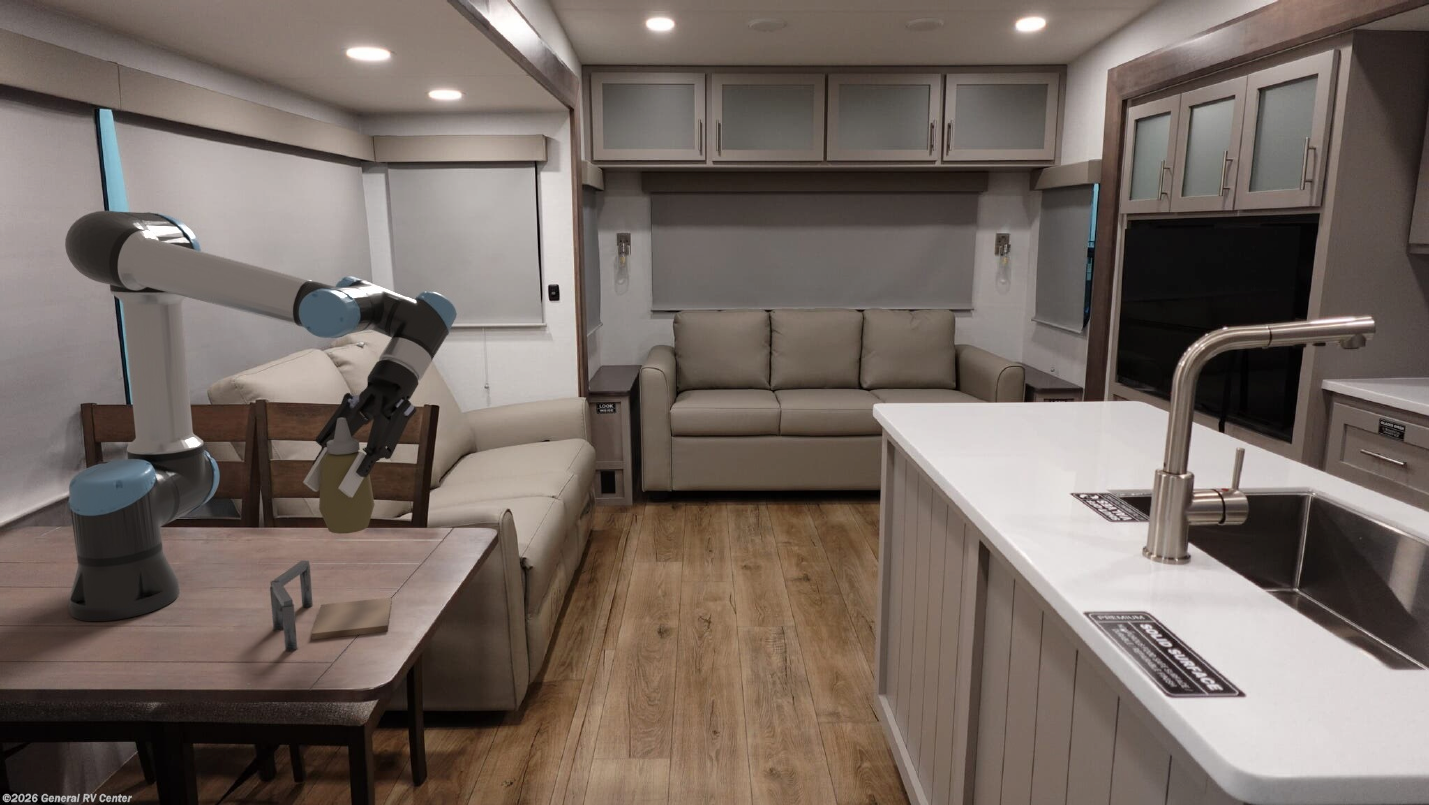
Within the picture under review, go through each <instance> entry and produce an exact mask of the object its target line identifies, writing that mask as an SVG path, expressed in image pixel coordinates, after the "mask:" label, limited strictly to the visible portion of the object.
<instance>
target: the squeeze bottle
mask: <svg viewBox="0 0 1429 805" xmlns="http://www.w3.org/2000/svg"><path fill="white" fill-rule="evenodd" d="M327 452H328V453H329V454H326V455H325V456H324V457H323V458H322V459H321V478H320V488H319V505H318V507H319V508H318V510H319V512H320V514H321V516H322V518H323V521H324V522H325V526H326V527H327V529H328V532H331V533H332V534H339V535H340V534H341V535H342V534H352V533H353V534H354V533H358V532H361V531H363V530H366V529H367V528H368V527H369V524H370V521H371V518H372V515H373V511H374V507H375V500H374V492H373V487H372V481H371V477H370V476H371V475H370V474H369V475H368V476H367V477H364V479H363V480H362V482H361V484H360V485H359V487H358V489H357V491H356V492H355V494H354V496H353V497H348V496H347V495H346V494H344V493H343V492H342V491H341V490H340V489H338V488H339V486H340V484H341V483H342V481H343V479H344V478H345V476H346V474H347V472H348V471H349V469H350V467H351V466H352V464H353V462H354V461H355V459H356V457H357V456H358V454H359V452H360V440H359V439H358V438H354V437H351V434H350V431H349V428H348V424H347V421H346V418H338V419H337V424H336V430H335V436H334V440H330V441H328V442H327Z"/></svg>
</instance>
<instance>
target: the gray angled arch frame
mask: <svg viewBox="0 0 1429 805" xmlns="http://www.w3.org/2000/svg"><path fill="white" fill-rule="evenodd" d="M309 561H310V560H300V561H299V562H298V563H296V564H294V566H292V567H290V568H289V569H287V570H286V571H284V572H283V573H282V574H280V575H278V577H276V578H274V579H273V580H272V581H270V586H269V592H270V605H271V606H270V607H271V615H272V628H273V629H272V630H273V631H282V630H283V635H284V636H283V637H284V647H285V648H284V650H285V652H287V653H288V652H295V651H296V650H297V649H298V643H297V642H298V641H297V638H298V637H297V628H296V616H295V615H296V613H295V605H294V602H293V598H292V597H291V595H290V594H289V593H288V591H287V589H286V588H285V587H284V586H286V585H287V584H288V583H290V582H292V581H293V580H294V579H295V578H297V577H298V576H299V583H300V598H301V607H302V608H304V609H305V608H311V607H312V606H314V605H313V592H312V590H313V589H312V578H311V577H312V576H311V566H310V562H309Z"/></svg>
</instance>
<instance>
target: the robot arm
mask: <svg viewBox="0 0 1429 805" xmlns="http://www.w3.org/2000/svg"><path fill="white" fill-rule="evenodd" d="M64 240H65V244H64V245H65V246H64V247H65V252H66V255H67V258H68V260H69V261H70V263H71V264H72V265H73V267H74V268H75V269H76V270H77V271H78V272H79V273H80V274H81V275H83V276H84V277H86V278H88V279H90V280H92V281H94V282H98V283H101V284H106V285H109V288H110V289H109V290H110V294H112V295H113V296H114V297H115V298H116V299H118V300H119V301H121V303H122V311H123V321H124V330H125V340H126V350H127V352H126V353H127V360H128V362H127V363H128V372H129V380H130V393H131V402H132V411H133V422H134V432H135V439H133V441H131V443H130V444H129V445H127V447H126V453H127V456H126V457H127V458H124V459H117V460H116V459H114V460H110V461H108V462H105V463H98V464H95V465H92V466H89V467H87V468H85V469H82V470H81V471H79V472H78V473H76V474H75V475H74V476H73V477H72V478H71V480H70V482H69V484H68V485H69V486H68V489H69V492H68V494H69V497H68V507H69V509H70V515H71V523H72V529H73V538H74V543H75V544H74V546H75V551H76V552H75V553H76V560H77V570H76V573H75V576H74V580H73V584H72V588H71V592H70V594H69V599H68V605H69V606H68V607H69V612H70V616H71V617H72V618H74V619H77V620H79V621H84V622H107V621H110V622H111V621H119V620H122V619H123V620H124V619H130V618H134V617H139V616H141V615H145V614H149V613H151V612H154V611H156V610H159V609H162V608H164V607H166V606H168V605H170V604H171V603H172V602H175V600H176V599H178V597H179V595H180V584H179V580H178V578H177V576H176V574H175V572H174V570H173V568H172V566H171V565H170V563H169V561H168V559H167V556H166V555H165V552H164V549H163V542H162V541H163V540H162V531H161V527H163V526H165V525H168V524H169V523H171V522H173V521H175V520H177V519H179V518H181V517H183V516H185V515H187V514H191V513H193V512H195V511H197V510H198V509H199V508H201V506H203V505H205V504H206V503H207V502H209V501H210V499H212V498H213V497H214V495H215V493H216V491H217V490H218V487H219V482H220V470H219V466H218V463H217V461H216V460H215V459H214V458H213V457H211V454H210V453H209V452H208V451H206V449H205V446H204V445H205V444H204V440H203V439H201V438H200V437H199V436H198V435H196V434H194V431H193V418H192V409H191V406H192V405H191V396H190V384H189V375H188V374H189V373H188V362H187V361H188V360H187V351H186V339H185V326H184V316H183V315H184V313H183V301H184V300H185V299H186V298H189V299H193V300H197V301H201V302H204V303H209V304H212V305H216V306H219V307H224V308H228V309H232V310H235V311H240V312H242V313H243V312H244V313H248V314H251V315H255V316H258V317H259V316H260V317H263V318H267V319H271V320H274V321H278V322H282V323H287V324H290V325H295V326H298V327H302V328H305V329H306V331H307V332H309V333H310V334H312V335H313V336H315V337H319V338H323V339H330V338H331V339H337V338H338V339H339V338H342V337H344V336H347V335H351V334H354V333H358V332H362V331H367V330H369V331H370V330H371V331H373V332H376V333H379V334H381V335H384V336H387V337H390V340H389V341H388V343H387V345H386V347H385V348H384V350H383V351H382V353H381V354H380V356H379V358H378V361H376V363H375V364H374V366H373V367H372V369H371V371H370V372H369V373H368V376H367V380H366V382H367V384H366V385H367V386H366V387H365V388H364V390H362V391H361V392H360V393H359V394H355V395H352V394H351V393H350V392H346V393H345V394H344V395H343V397H342V400H341V402H340V405H339V406H338V407H337V409H336V410H335V412H334V413H333V414H332V416H330V419H329V420H328V421H327V422H326V424H325V425H324V426H323V428H322V429H321V430H320V432H319V434H318V435H317V437H315V439H314V440H315V442H316V444H318V445H319V446H320V447H321V449H320V450H319V453H318V454H317V456H316V457H315V459H314V460H313V461H312V467H311V469H310V470H309V471H308V473H307V475H306V476H305V478H304V480H303V481H302V483H303V484H304V485H305V486H307V487H308V488H309V489H311V490H312V491H313V492H318V491H320V478H321V459H322V458H323V457H324V456H325V455H326V454H329V453H328V452H327V442H328V441H330V440H334V436H335V430H336V424H337V419H338V418H346V421H347V424H348V428H349V431H350V434H351V438H353V437H354V435H355V434H356V433H357V432H358V431H359V430H360V429H361V428H362V427H363V426H365V425H366V426H367V425H369V423H370V422H371V421H372V424H371V429H370V432H369V435H368V440H367V443H366V447H362V451H363V452H362V451H359V454H358V456H357V457H356V459H355V461H354V462H353V464H352V466H351V467H350V469H349V471H348V472H347V474H346V476H345V478H344V479H343V481H342V483H341V484H340V486H339V488H338V489H340V490H341V491H342V492H343V493H344V494H346V495H347V496H348V497H353V496H354V494H355V492H356V491H357V489H358V487H359V485H360V484H361V482H362V480H363V479H364V477H367V476H368V475H370V473H371V471H372V469H373V467H374V466H375V465H376V462H378V461H380V460H381V459H385V460H389V459H391V457H392V456H393V454H394V452H395V450H396V448H397V446H398V443H399V441H400V439H401V438H402V436H403V433H404V431H405V429H406V427H407V425H408V423H409V421H410V420H411V418H412V417H413V416H414V415H415V414H416V412H417V410H418V409H417V408H416V407H415V406H414V405H413V403H412V402H411V401H410V399H411V398H412V396H413V394H414V393H415V391H416V389H417V387H418V386H419V382H420V381H421V380H422V378H423V377H424V375H425V374H426V371H427V370H428V368H429V366H430V365H431V363H432V362H433V359H434V358H435V356H436V355H437V353H438V351H439V350H440V348H441V346H442V344H443V343H444V341H445V339H446V338H447V336H449V334H450V330H451V328H452V326H453V325H454V322H455V320H456V319H457V309H456V307H455V306H454V304H453V302H451V300H449V299H448V298H447V297H446V296H445V295H443V294H440V293H439V292H435V291H428V290H426V291H421V292H420V293H419V294H418V296H416V297H415V298H414V299H413V298H411V297H408V296H406V295H405V296H404V295H402V294H399V293H397V292H394V291H392V290H389V289H388V288H384V287H381V286H379V285H377V284H375V283H371V282H370V281H369V280H366V279H360V278H358V277H355V276H351V275H350V276H349V275H348V276H344V277H343V278H341V280H339V281H338V282H337V283H336V285H335V286H334V285H330V284H327V283H323V282H318V281H313V280H311V279H307V278H303V277H299V276H296V275H292V274H288V273H284V272H281V271H277V270H274V269H270V268H265V267H262V266H257V265H254V264H249V263H246V262H243V261H239V260H234V259H230V258H227V257H224V256H223V257H222V256H219V255H215V254H211V253H208V252H205V251H202V250H201V245H200V243H199V240H198V238H197V236H196V235H195V233H194V232H193V230H192V229H190V228H189V227H188V226H187V225H186V224H185V223H184V222H183V221H181V220H180V219H178V218H175V217H173V216H170V215H166V214H160V213H154V212H150V211H149V212H148V211H147V212H133V211H114V210H99V211H98V210H97V211H94V212H90V213H87V214H85V215H83V216H81V217H80V218H78V219H76V221H74V222H73V223H72V224H71V225H70V227H69V229H68V231H67V234H66V236H65V239H64Z"/></svg>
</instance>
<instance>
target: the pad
mask: <svg viewBox="0 0 1429 805" xmlns="http://www.w3.org/2000/svg"><path fill="white" fill-rule="evenodd" d="M392 604H393V599H392V597H386V598H385V597H384V598H375V599H364V600H363V599H362V600H353V601H344V602H335V603H322V604H320V608H319V610H318V613H317V617H316V620H315V622H314V625H313V628H312V631H311V640H313V641H314V640H322V639H330V638H338V637H340V638H341V637H348V636H349V637H350V636H357V635H366V634H374V633H376V634H377V633H384V632H388V631H389V626H390V620H389V619H391V613H392V612H391V610H392V606H391V605H392ZM390 612H391V613H390Z"/></svg>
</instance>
